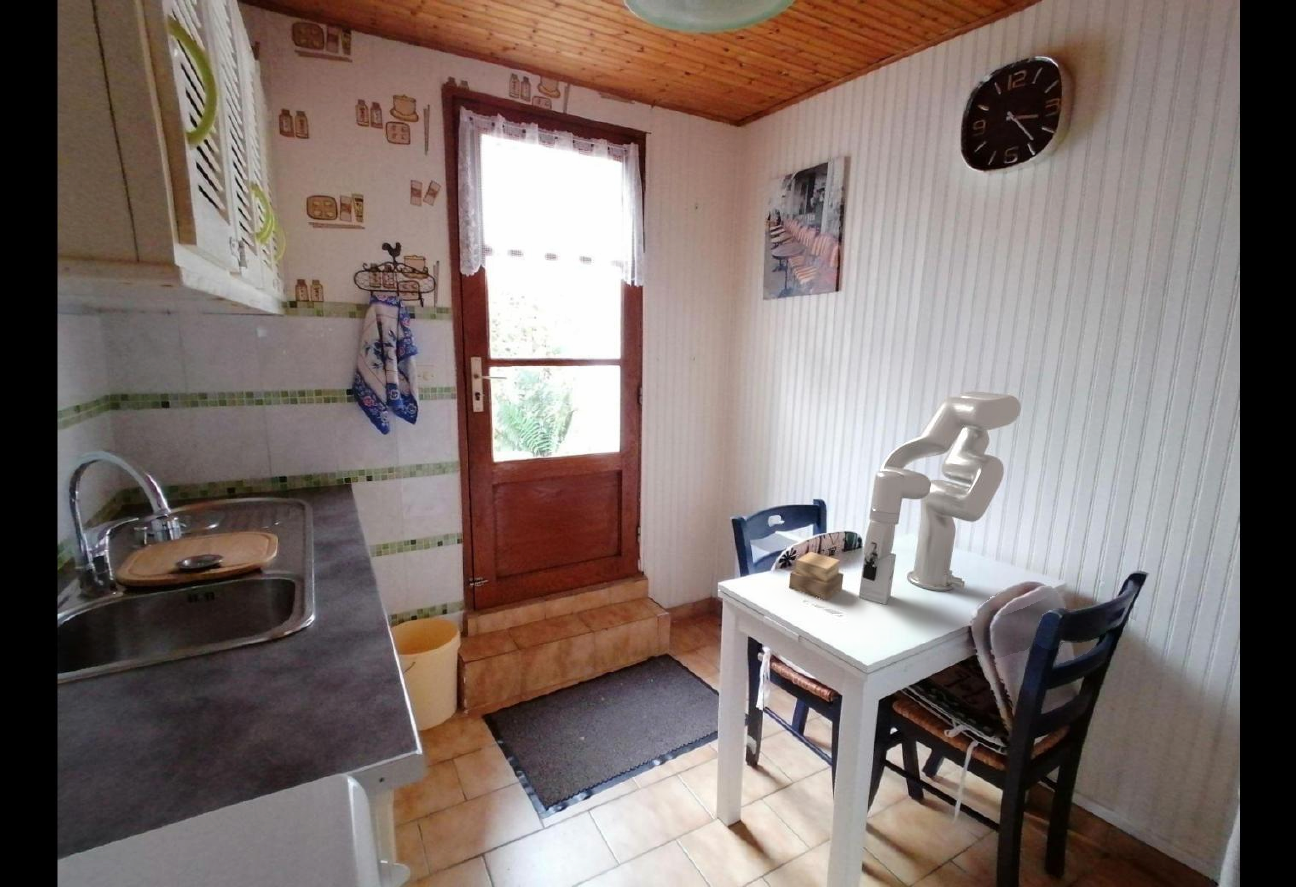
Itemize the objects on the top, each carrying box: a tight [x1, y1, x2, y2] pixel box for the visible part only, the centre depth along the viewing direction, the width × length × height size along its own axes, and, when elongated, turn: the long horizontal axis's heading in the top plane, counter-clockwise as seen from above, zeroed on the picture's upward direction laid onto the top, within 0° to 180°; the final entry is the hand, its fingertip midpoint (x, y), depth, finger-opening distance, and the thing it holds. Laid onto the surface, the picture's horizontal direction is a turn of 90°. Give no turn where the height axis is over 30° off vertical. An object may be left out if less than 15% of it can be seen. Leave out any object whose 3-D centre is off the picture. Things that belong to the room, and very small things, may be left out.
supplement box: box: [858, 552, 897, 605], centre depth 157 cm, size 7×7×13 cm
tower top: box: [795, 551, 841, 583], centre depth 160 cm, size 9×9×4 cm
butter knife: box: [802, 599, 843, 617], centre depth 153 cm, size 1×24×3 cm
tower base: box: [788, 569, 844, 602], centre depth 161 cm, size 11×11×5 cm
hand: (875, 574), depth 156 cm, fingers open, 9 cm apart
